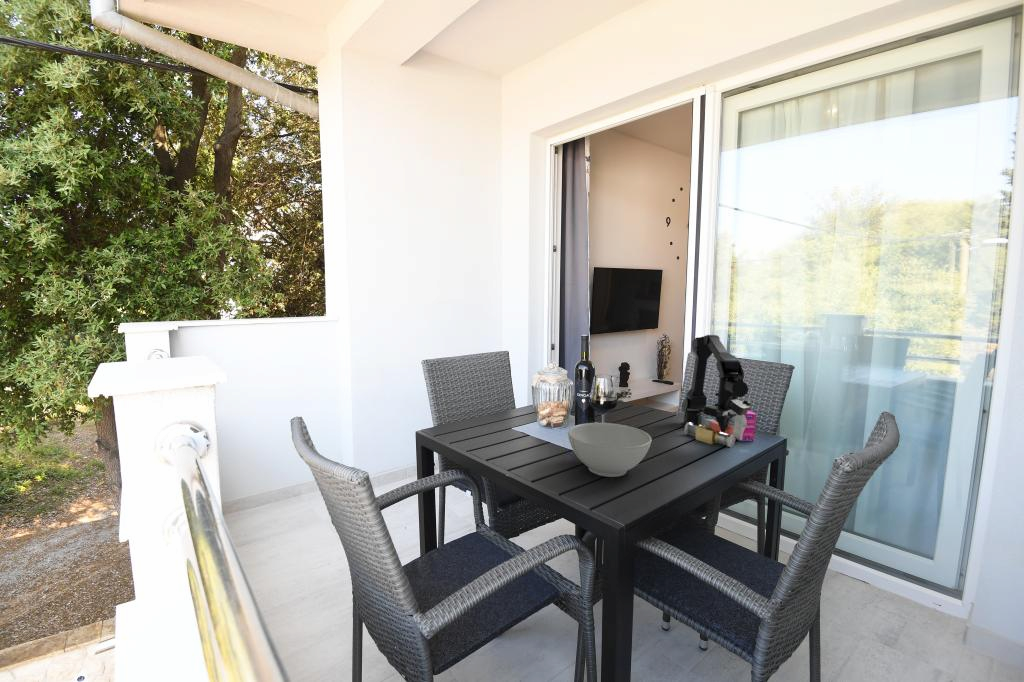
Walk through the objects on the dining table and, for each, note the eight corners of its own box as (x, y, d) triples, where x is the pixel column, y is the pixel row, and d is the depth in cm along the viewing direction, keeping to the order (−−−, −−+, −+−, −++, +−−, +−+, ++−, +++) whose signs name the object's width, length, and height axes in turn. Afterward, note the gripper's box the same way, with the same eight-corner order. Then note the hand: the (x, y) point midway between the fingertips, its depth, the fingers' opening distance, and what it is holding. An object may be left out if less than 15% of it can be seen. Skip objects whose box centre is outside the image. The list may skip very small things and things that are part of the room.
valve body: (682, 435, 200) (683, 423, 199) (692, 432, 204) (693, 420, 204) (726, 448, 185) (727, 435, 184) (736, 445, 189) (737, 432, 188)
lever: (702, 426, 195) (703, 419, 194) (709, 425, 196) (709, 418, 196) (729, 435, 183) (729, 427, 183) (735, 434, 185) (736, 426, 185)
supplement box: (739, 441, 194) (742, 413, 193) (732, 436, 200) (735, 409, 199) (754, 441, 194) (756, 413, 193) (746, 437, 200) (749, 409, 199)
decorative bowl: (549, 468, 161) (551, 432, 159) (597, 450, 179) (599, 418, 178) (619, 494, 142) (621, 454, 140) (664, 471, 161) (667, 435, 159)
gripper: (730, 397, 172) (726, 440, 173) (761, 393, 181) (757, 434, 183) (703, 391, 181) (700, 432, 183) (734, 388, 191) (731, 426, 192)
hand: (723, 431), depth 185 cm, fingers closed
